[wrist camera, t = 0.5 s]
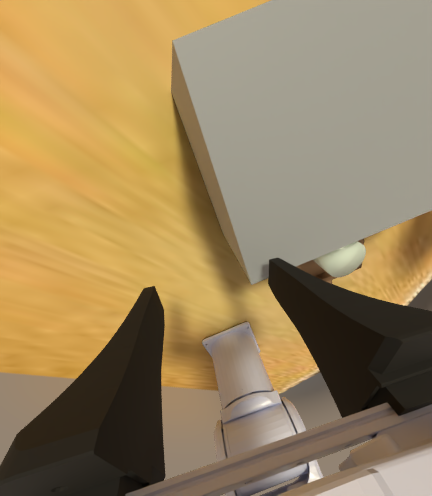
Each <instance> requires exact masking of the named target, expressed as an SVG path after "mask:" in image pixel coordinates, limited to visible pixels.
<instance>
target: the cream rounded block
mask: <svg viewBox="0 0 432 496" xmlns="http://www.w3.org/2000/svg"><path fill="white" fill-rule="evenodd" d="M365 254H366V249H365V246H364V245H363V244H361V243H360V242H358V241H356V242H354V243H351V244H349V245H347V246H344V247H342V248H339V249H337V250H335V251H332V252H330V253H327V254H325V255H322V256H320V257H318V258H315V259H313V261H314V262H315V263H316V264H318V265H319V266H320V267H321V268H322V269H324V270H325V271H326V272H327V273H329V274H330V275H331V276H333V277H343V276H346V275H348V274H350V273H352V272H353V271H354V270H355V269H357V268H358V267H359V265H360V264H361V263H362V261H363V260H364V257H365Z"/></svg>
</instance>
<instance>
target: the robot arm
mask: <svg viewBox="0 0 432 496" xmlns="http://www.w3.org/2000/svg"><path fill="white" fill-rule="evenodd" d="M268 284H269V286H270V288H271V290H272V292H273V294H274V296H275V298H276V299H277V301H278V302H279V304H280V305H281V307H282V308H283V309H284V311H285V312H286V314H287V315H288V317H289V318H290V320H291V321H292V322H293V324H294V325H295V327H296V328H297V330H298V331H299V333H300V335H301V336H302V338H303V340H304V342H305V344H306V345H307V347H308V349H309V351H310V353H311V355H312V357H313V358H314V360H315V362H316V364H317V366H318V368H319V370H320V372H321V374H322V376H323V378H324V380H325V382H326V384H327V386H328V388H329V390H330V392H331V395H332V397H333V398H334V401H335V403H336V405H337V407H338V410H339V412H340V414H341V416H342V418H341V419H338V420H335V421H333V422H330V423H327V424H324V425H321V426H318V427H315V428H312V429H310V430H307V431H306V429H305V426H304V424H303V422H302V420H301V418H300V416H299V414H298V412H297V410H296V409H295V407H294V405H293V404H292V402H290V401H289V400H287V399H286V398H285V397H283V398H280V397H279V394H278V392H277V391H276V390H275V391H274V389H273V386H272V384H271V382H270V379H269V377H268V374H267V372H266V370H265V367H264V365H263V362H262V360H261V357H260V355H259V353H260V349H259V347H258V344H257V342H256V339H255V337H254V334H253V332H252V329H251V327H250V324H249V322H245V323H242V324H240V325H237V326H235V327H232V328H230V329H228V330H225V331H223V332H220V333H218V334H216V335H213V336H211V337H208V338H206V339H204V340H202V344H203V346H204V347H205V348H206V350H207V351H208V353H209V354H210V355H211V357H212V358H213V364H214V369H215V374H216V379H217V384H218V390H219V395H220V399H221V405H222V410H221V411H220V412H221V418H222V420H219V421H218V422H217V425H216V427H215V430H214V441H215V449H216V457H217V462H216V463H213V464H210V465H207V466H204V467H201V468H198V469H196V470H193V471H190V472H187V473H184V474H182V475H178V476H176V477H173V478H170V479H167V480H164V478H165V463H164V447H163V427H162V399H161V364H162V352H163V340H164V326H165V325H164V309H163V306H162V304H161V301H160V299H159V296H158V293H157V291H156V288H155V286H152V287H148V288H144V289H143V291H142V292H141V294H140V296H139V298H138V299H137V301H136V303H135V304H134V306H133V308H132V309H131V311H130V312H129V314H128V316H127V317H126V319H125V320H124V322H123V323H122V325H121V326H120V327H119V329H118V330H117V332H116V333H115V335H114V336H113V337H112V339H111V340H110V341H109V343H108V344H107V345H106V346H105V348H104V349H103V350H102V351H101V352H100V354H99V355H98V356H97V357H96V358H95V359H94V360H93V362H92V363H91V364H90V365H89V366H88V367H87V368H86V369H85V370H84V371H83V373H82V374H81V375H80V376H79V377H78V378H77V379H76V380H75V381H74V382H73V383H72V384H71V385H70V386H69V387H68V388H67V389H66V390H65V391H64V392H63V393H62V394H61V395H60V396H59V397H58V398H57V399H55V401H53V402H52V403H51V404H50V405H49V406H48V407H47V408H46V409H45V410H44V411H42V412H41V413H40V414H39V415H38V416H37V417H36V418H35V419H33V420H32V421H31V422H30V423H29V424H28V425H27V426H26V427H24V429H22V430H21V431H20V432H19V433H18V434H17V435H16V437H15V439H14V441H13V443H12V445H11V446H10V448H9V451H8V452H7V454H6V456H5V458H4V460H3V462H2V464H1V465H0V496H220V495H223V494H225V495H226V496H250V495H253V494H255V493H258V492H260V491H263V490H265V489H268V488H271V487H273V486H276V485H278V484H281V483H283V482H286V481H288V480H291V479H293V478H295V477H298V476H300V477H299V478H298V479H297V480H296V481H295V482H293V483H290V484H288V485H285V486H283V487H280V488H278V489H275V490H273V491H270V492H268V493H265V494H263V495H260V496H432V311H428V310H423V309H418V308H413V307H408V306H403V305H398V304H394V303H390V302H386V301H382V300H378V299H375V298H371V297H368V296H365V295H361V294H358V293H355V292H352V291H349V290H346V289H344V288H341V287H338V286H336V285H333V284H331V283H328V282H326V281H324V280H322V279H319V278H317V277H315V276H313V275H311V274H309V273H307V272H305V271H303V270H301V269H299V268H297V267H295V266H293V265H292V264H290V263H288V262H286V261H284V260H282V259H280V258H274V259H269V277H268ZM370 439H372V440H371V441H368V442H366V443H365V444H363V445H361V446H359V447H357V448H355V449H353V450H351V451H350V456H349V457H348V458H347V459H346V460H345V461H344V462H343V463H341V464H340V465H339V469H340V471H341V472H338V473H335V474H332V475H329V476H326V477H323V475H322V473H321V470H320V468H319V465H318V463H317V460H316V459H319V458H322V457H325V456H327V455H330V454H333V453H335V452H338V451H340V450H343V449H346V448H349V447H351V446H354V445H357V444H359V443H362V442H365V441H367V440H370Z"/></svg>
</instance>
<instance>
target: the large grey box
mask: <svg viewBox="0 0 432 496" xmlns="http://www.w3.org/2000/svg"><path fill="white" fill-rule="evenodd" d="M171 93H172V95H173V98H174V101H175V104H176V106H177V109H178V112H179V114H180V117H181V120H182V123H183V125H184V128H185V131H186V134H187V136H188V139H189V142H190V145H191V147H192V150H193V153H194V156H195V158H196V161H197V164H198V167H199V169H200V172H201V175H202V177H203V180H204V183H205V186H206V188H207V191H208V194H209V197H210V199H211V202H212V205H213V208H214V210H215V213H216V216H217V219H218V221H219V224H220V227H221V230H222V232H223V235H224V236H225V238H226V240H227V242H228V244H229V245H230V247H231V249H232V251H233V253H234V254H235V256H236V258H237V260H238V262H239V263H240V265H241V267H242V269H243V271H244V272H245V274H246V276H247V278H248V279H249V281H250V283H251V285H252V284H255V283H257V282H260V281H262V280H264V279H267V278H268V277H269V259H274V258H280V259H282V260H284V261H286V262H288V263H290V264H292V265H293V266H295V267H296V266H298V265H301V264H303V263H306V262H308V261H310V260H313V259H315V258H318V257H320V256H322V255H325V254H327V253H330V252H332V251H335V250H337V249H339V248H342V247H344V246H347V245H349V244H351V243H354V242H356V241H359V240H361V239H364V238H366V237H368V236H371V235H373V234H376V233H378V232H380V231H383V230H385V229H388V228H390V227H393V226H395V225H397V224H400V223H402V222H405V221H407V220H409V219H412V218H414V217H417V216H419V215H422V214H424V213H426V212H429V211H431V210H432V0H271V1H269V2H266V3H264V4H262V5H259V6H257V7H254V8H252V9H249V10H247V11H244V12H242V13H239V14H237V15H235V16H232V17H230V18H227V19H225V20H222V21H220V22H217V23H215V24H212V25H210V26H207V27H205V28H203V29H200V30H198V31H195V32H193V33H190V34H188V35H185V36H183V37H180V38H178V39H176V40H173V41H172V81H171Z"/></svg>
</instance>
